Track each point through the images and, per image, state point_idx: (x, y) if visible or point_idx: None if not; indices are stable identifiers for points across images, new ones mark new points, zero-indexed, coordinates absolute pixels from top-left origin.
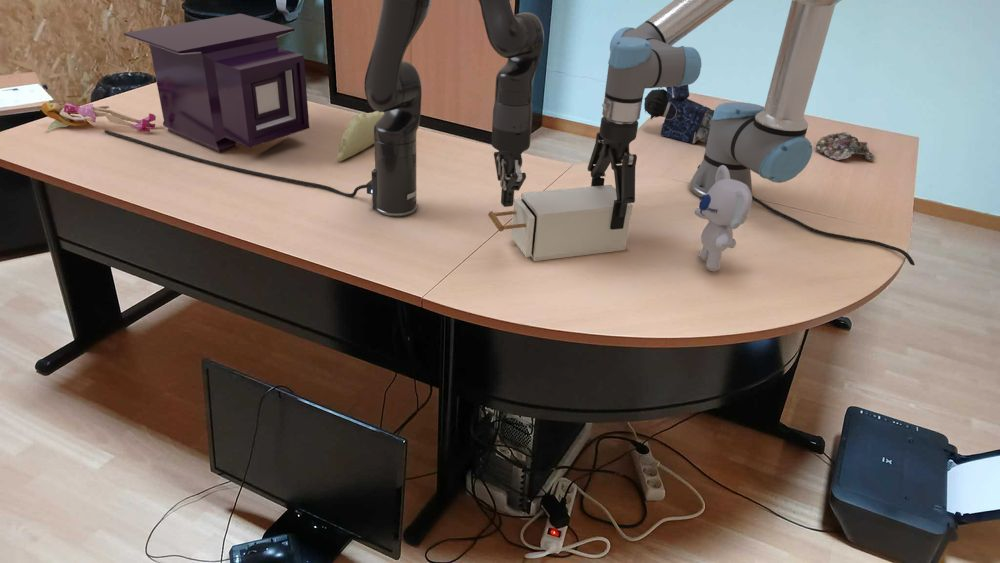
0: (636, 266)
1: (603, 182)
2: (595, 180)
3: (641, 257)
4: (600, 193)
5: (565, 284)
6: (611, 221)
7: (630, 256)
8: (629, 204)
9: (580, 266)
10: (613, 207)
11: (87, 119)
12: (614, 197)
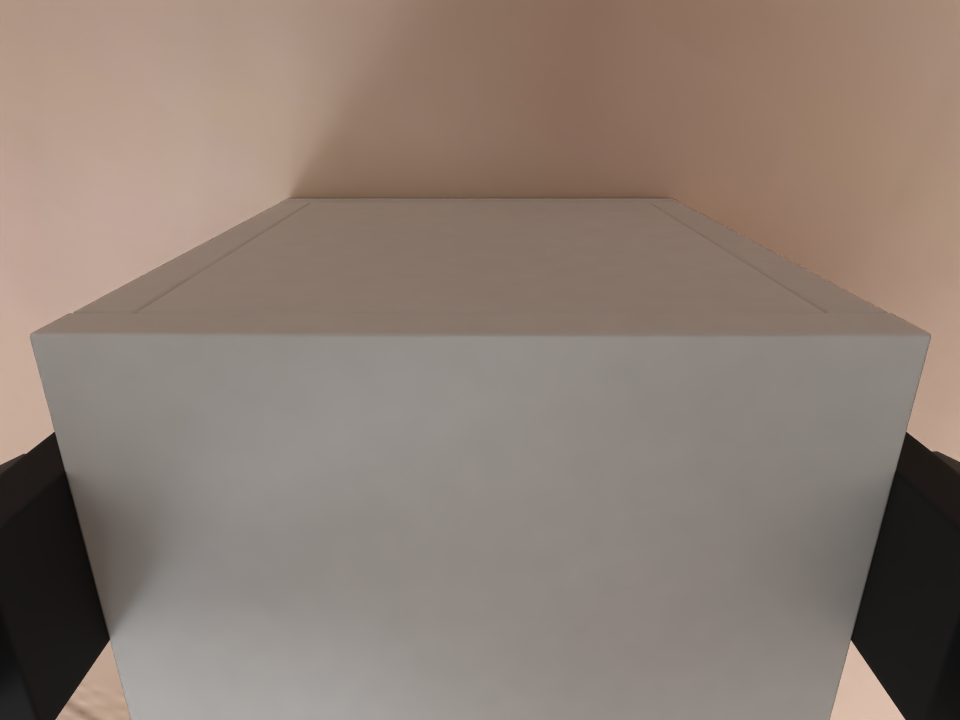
0: (918, 225)
1: (32, 513)
2: (42, 695)
3: (821, 111)
4: (381, 634)
5: (888, 703)
6: None
7: (771, 198)
8: (895, 384)
9: None
10: (852, 634)
11: None
12: (566, 503)
